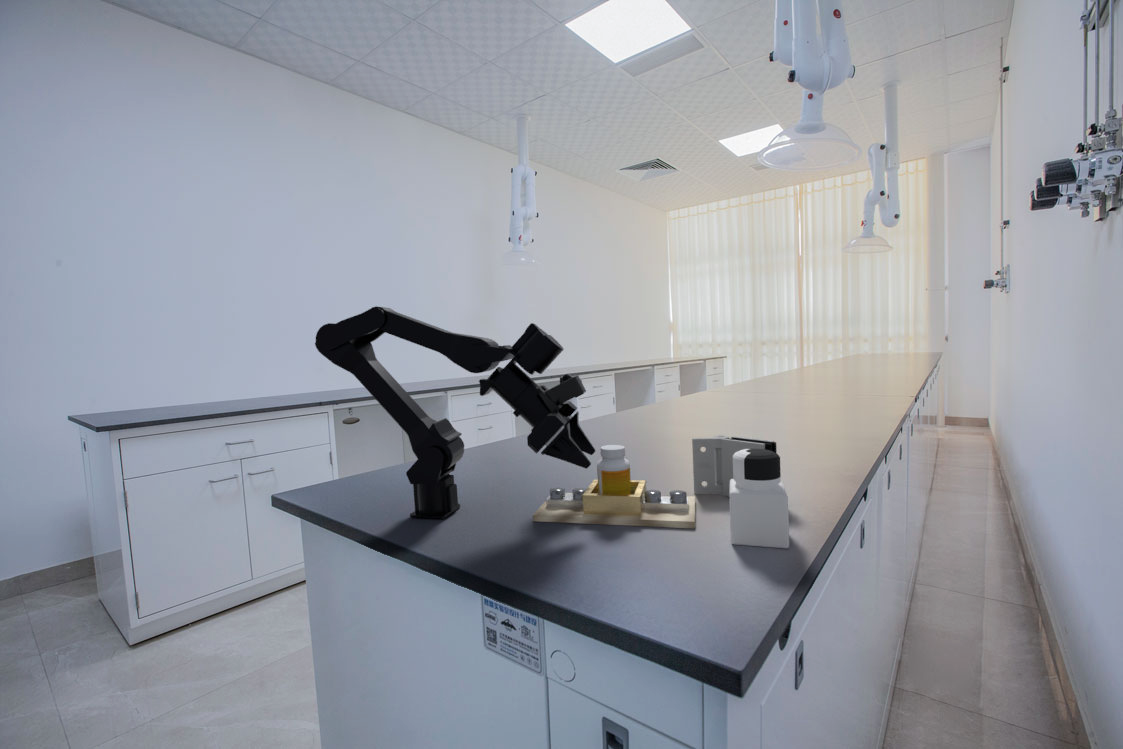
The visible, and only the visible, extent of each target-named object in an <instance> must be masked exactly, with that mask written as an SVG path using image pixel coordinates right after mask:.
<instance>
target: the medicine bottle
mask: <svg viewBox="0 0 1123 749" xmlns="http://www.w3.org/2000/svg"><path fill="white" fill-rule="evenodd" d="M781 476H782V475H781V456H780V455H779V454H778V453H775V452H772V451H770V450H766V449H743V450H740V451H738V452H736V453H735V454H734V455H733V479H731V480H730V490H729V496H728V497H729V523H730V543H731V544H732V545H737V546H748V547H749V546H751V547H761V548H762V547H763V548H774V549H775V548H776V549H788V548H790V529H789V527H790V526H789V498H788V494H787V490H786V487H785V485H784V482H783V481H782V479H781V478H782V477H781Z"/></svg>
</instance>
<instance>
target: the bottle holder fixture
mask: <svg viewBox="0 0 1123 749" xmlns="http://www.w3.org/2000/svg"><path fill="white" fill-rule="evenodd" d="M566 493H567V492H566V489H565V488H564V487H559V486H556V487H552V488H550V489H549V496H548V497H547V498H546V499H545V501H546V507H570V508H583V511H584V514H602V515H627V516H641V514H642V511H643V510H652V511H679V512H688V505H689V504H688V497H687V496H688V495H687V492H686V491H684V490H678V489H677V490H672V491H669V495H662V493H661V491H660V490H658V489H647V480H642V479H640V480H638V479H637V480H633V479H632V480H631V495H627V494H598V479H597V478H596V479H593V480H592V481H591V483H590V485H589V486H588V487H587V488H585V487H578V488H577V487H575V488H574V489H572V492H571V493H573V494H566Z"/></svg>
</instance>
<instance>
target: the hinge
mask: <svg viewBox="0 0 1123 749" xmlns="http://www.w3.org/2000/svg"><path fill="white" fill-rule="evenodd" d="M691 440H692V442H691V443H692V468H693V472H692V473H693V474H692V475H693V494H694V495H722V496H726V497H729V490H730V480H731V479H733V455H734V454H735V453H736V452H738V451H740V450H743V449H766V450H770V451H772V452H775V453H777V442H776V441H775V440H768V439H760V438H750V437H743V436H735V435H733V436H731V437H730V436H728V435H714V436H713V437H693V438H691ZM701 448H704V451H702V450H701ZM777 454H778V453H777ZM703 482H706V485H703V484H702V483H703Z"/></svg>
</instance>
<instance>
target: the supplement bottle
mask: <svg viewBox="0 0 1123 749" xmlns="http://www.w3.org/2000/svg"><path fill="white" fill-rule="evenodd" d="M625 456H626V447H625V446H624V445H619V444H606V445H602V446H601V447H600V457H602V458H601V459H599V460H598V462H597V463H596V466H597V467H596V472H597V474H596V476H597V480H598V494H627V495H631V464H630V460H628V459H626V458H625Z"/></svg>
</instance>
